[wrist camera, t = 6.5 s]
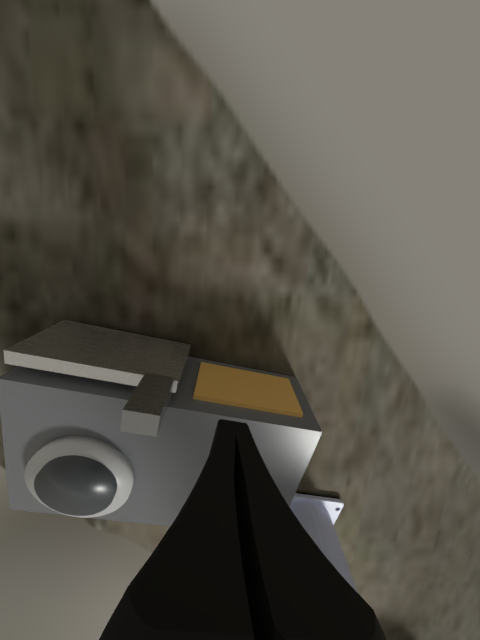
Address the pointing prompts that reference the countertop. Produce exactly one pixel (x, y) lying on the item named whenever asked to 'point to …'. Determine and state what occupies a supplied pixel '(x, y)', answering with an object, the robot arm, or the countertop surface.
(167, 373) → the side door
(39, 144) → the countertop surface
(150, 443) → the camera housing
